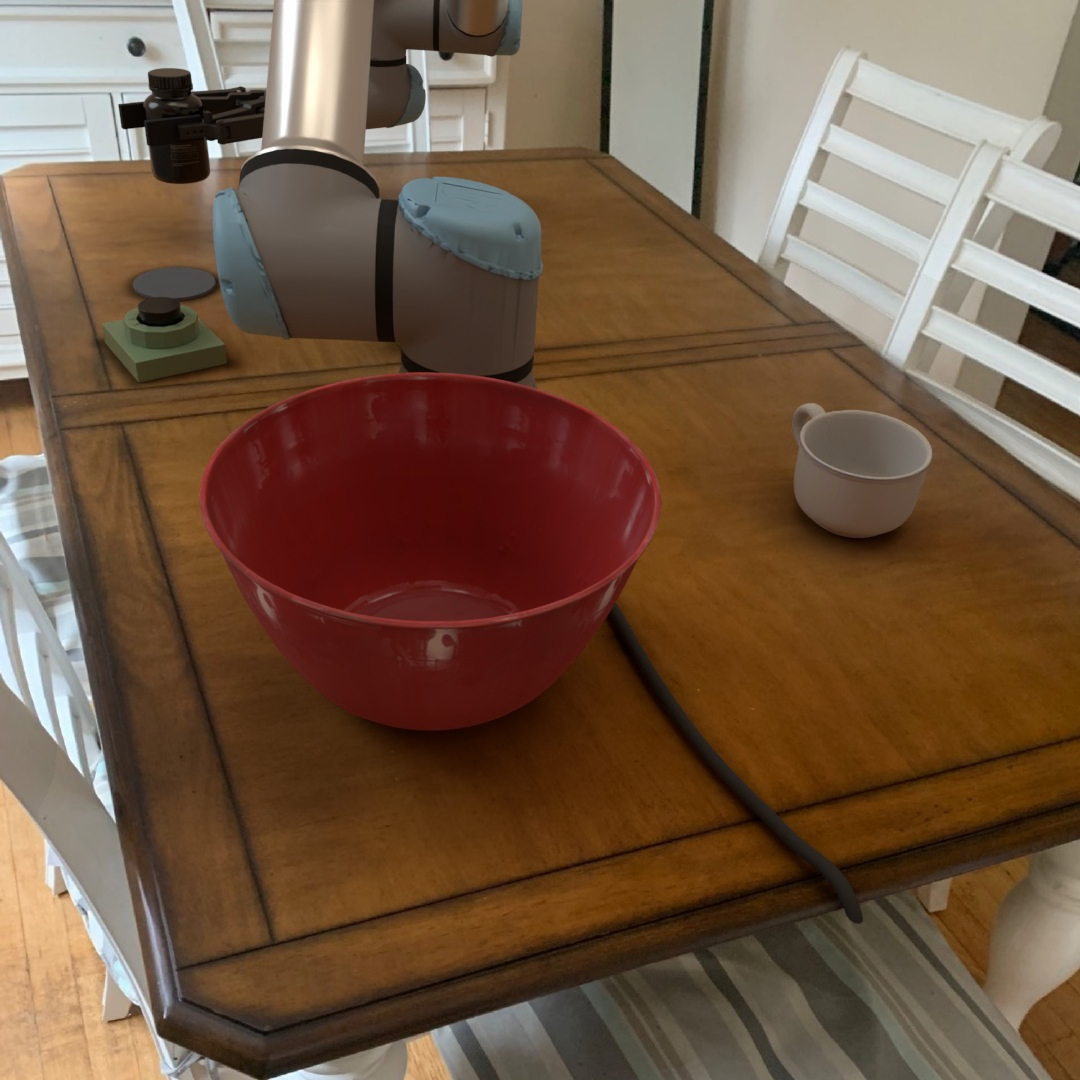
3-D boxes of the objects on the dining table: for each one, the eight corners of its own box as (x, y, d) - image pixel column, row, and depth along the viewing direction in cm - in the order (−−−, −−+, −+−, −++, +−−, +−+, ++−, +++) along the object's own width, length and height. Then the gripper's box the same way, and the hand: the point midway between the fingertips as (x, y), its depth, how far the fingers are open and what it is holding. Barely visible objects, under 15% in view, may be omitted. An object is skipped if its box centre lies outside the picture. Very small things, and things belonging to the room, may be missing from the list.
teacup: (932, 547, 96) (959, 466, 91) (819, 561, 93) (840, 479, 88) (851, 462, 106) (871, 386, 102) (747, 473, 103) (763, 395, 99)
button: (188, 324, 112) (186, 308, 111) (148, 332, 110) (146, 315, 109) (173, 309, 115) (171, 293, 114) (134, 317, 113) (131, 300, 112)
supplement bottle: (218, 171, 139) (209, 68, 132) (199, 188, 134) (188, 82, 127) (164, 165, 140) (151, 62, 133) (142, 182, 134) (128, 76, 127)
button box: (227, 364, 114) (223, 327, 111) (138, 383, 109) (132, 345, 107) (189, 326, 120) (185, 290, 118) (104, 343, 116) (98, 306, 113)
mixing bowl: (496, 893, 64) (512, 691, 55) (129, 696, 74) (92, 501, 65) (695, 629, 84) (729, 451, 75) (385, 505, 95) (383, 336, 86)
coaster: (228, 292, 128) (227, 289, 128) (149, 307, 123) (149, 303, 123) (198, 265, 134) (197, 262, 133) (122, 278, 129) (121, 274, 129)
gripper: (352, 156, 139) (173, 182, 126) (276, 115, 151) (106, 135, 138) (350, 92, 134) (165, 112, 122) (272, 56, 147) (96, 71, 134)
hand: (134, 125), depth 130 cm, fingers closed on supplement bottle, 7 cm apart
